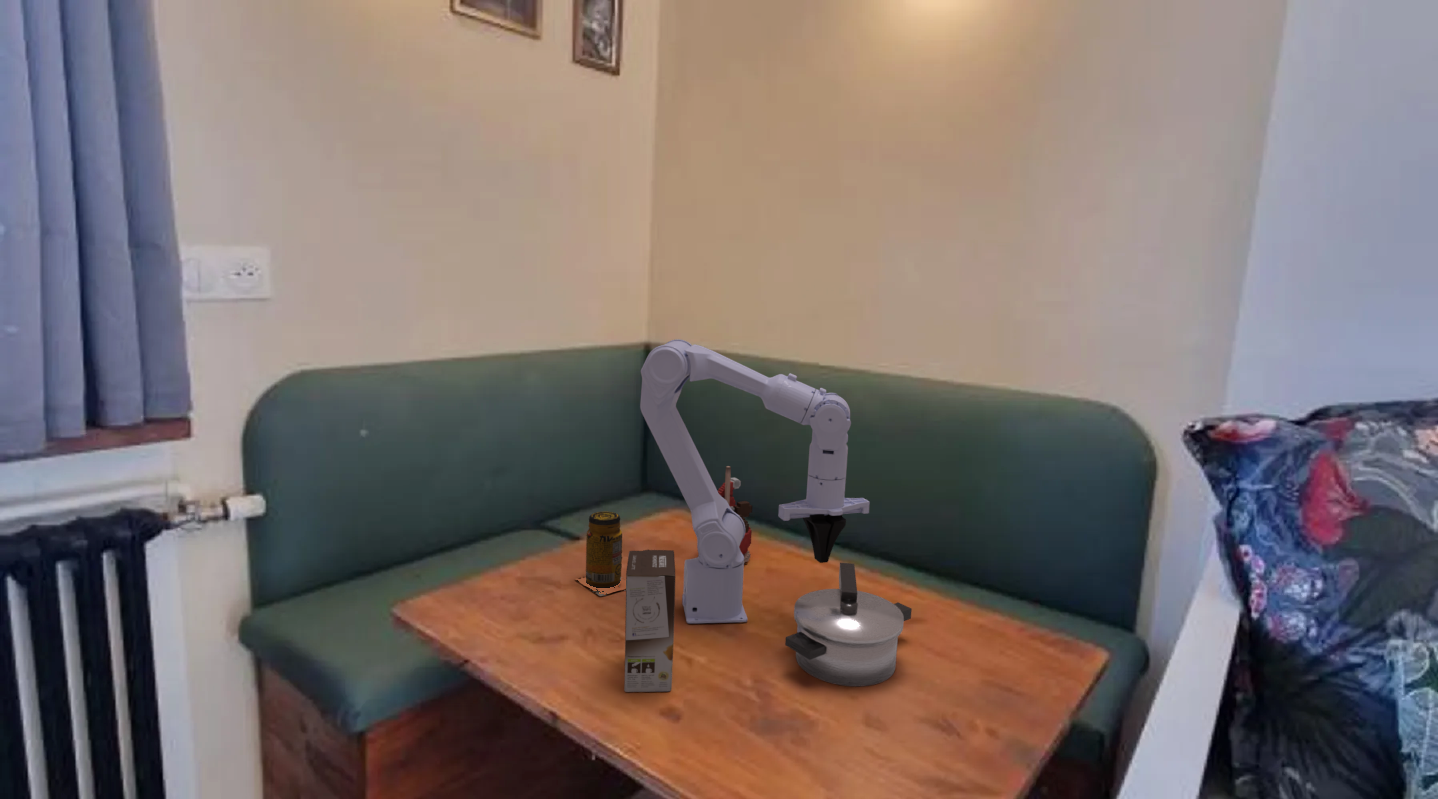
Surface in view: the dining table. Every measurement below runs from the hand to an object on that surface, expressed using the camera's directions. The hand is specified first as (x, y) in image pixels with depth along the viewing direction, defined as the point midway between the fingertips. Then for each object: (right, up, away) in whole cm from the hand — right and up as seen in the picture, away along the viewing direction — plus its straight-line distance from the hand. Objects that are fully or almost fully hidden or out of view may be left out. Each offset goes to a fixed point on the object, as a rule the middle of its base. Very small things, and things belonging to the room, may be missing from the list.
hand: (821, 560), depth 121 cm
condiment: (-35, -7, +14) cm, 38 cm away
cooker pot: (+3, -12, -8) cm, 15 cm away
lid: (+3, -6, -8) cm, 10 cm away
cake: (-15, -5, +26) cm, 31 cm away
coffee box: (-25, -13, -15) cm, 32 cm away
